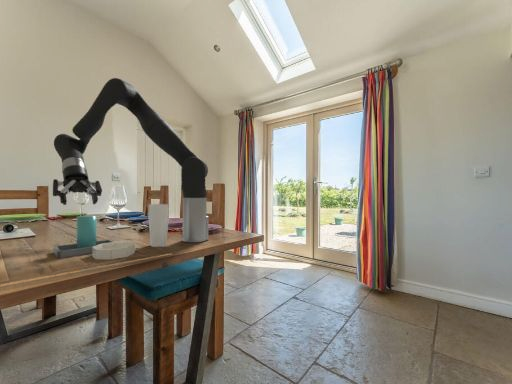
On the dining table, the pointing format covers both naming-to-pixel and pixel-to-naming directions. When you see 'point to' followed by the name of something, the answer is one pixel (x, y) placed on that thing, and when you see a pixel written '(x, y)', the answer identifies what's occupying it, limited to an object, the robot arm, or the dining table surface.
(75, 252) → the parts tray
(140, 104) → the robot arm
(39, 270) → the dining table surface
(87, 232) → the teal cylinder
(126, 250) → the cream bowl
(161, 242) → the drinking glass
